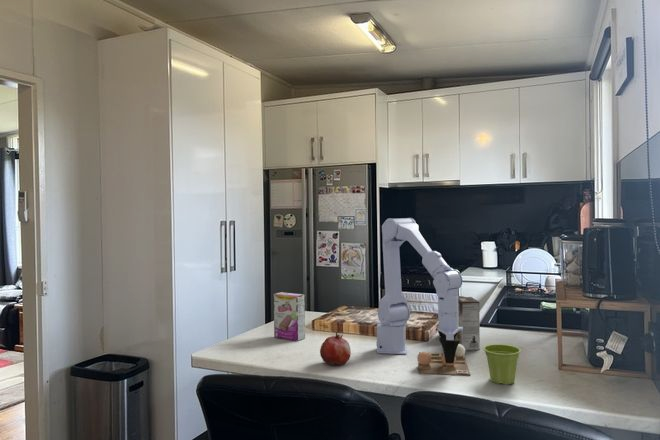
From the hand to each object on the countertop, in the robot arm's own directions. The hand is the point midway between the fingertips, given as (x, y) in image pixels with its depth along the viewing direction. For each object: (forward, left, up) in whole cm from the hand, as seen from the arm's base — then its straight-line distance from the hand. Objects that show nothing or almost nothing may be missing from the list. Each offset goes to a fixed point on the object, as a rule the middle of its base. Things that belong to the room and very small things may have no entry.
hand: (448, 358), depth 141 cm
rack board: (-2, +5, -3) cm, 6 cm away
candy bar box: (-56, +29, -3) cm, 63 cm away
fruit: (-34, +1, -3) cm, 34 cm away
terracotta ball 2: (0, 0, 0) cm, 0 cm away
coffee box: (+8, +26, -3) cm, 27 cm away
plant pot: (+14, -8, -3) cm, 16 cm away
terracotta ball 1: (-7, 0, 0) cm, 7 cm away
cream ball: (+4, +10, 0) cm, 11 cm away
